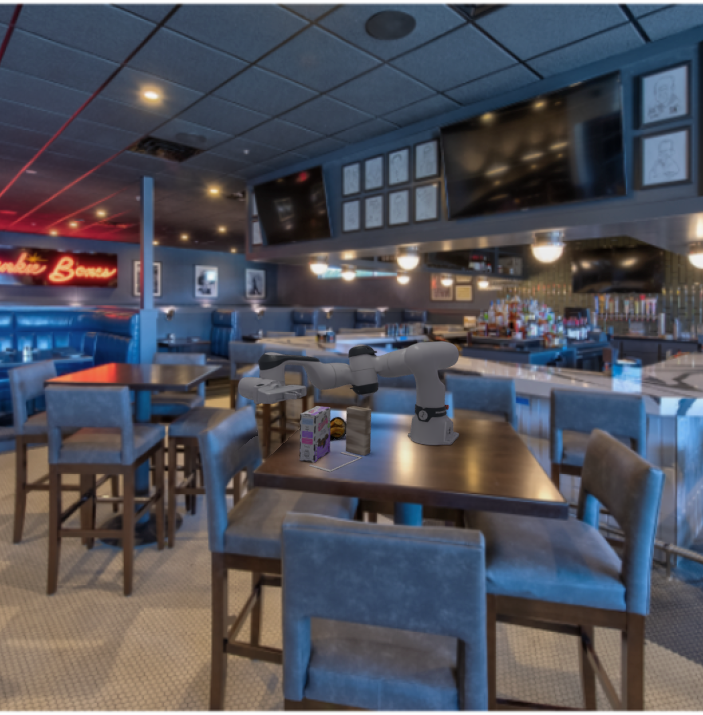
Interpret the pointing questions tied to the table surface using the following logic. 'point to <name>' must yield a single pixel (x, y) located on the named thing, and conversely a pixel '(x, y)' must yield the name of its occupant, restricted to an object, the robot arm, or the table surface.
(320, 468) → the slot outline
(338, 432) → the fried shrimp in bowl
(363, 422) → the ash tower
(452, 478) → the table surface
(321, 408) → the candy box
